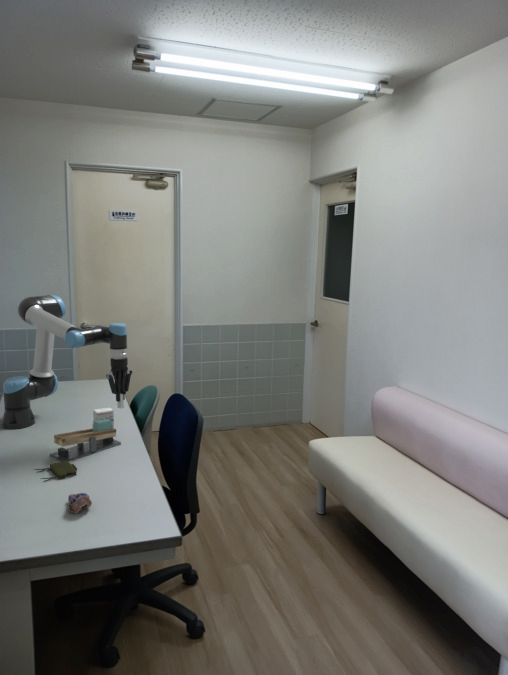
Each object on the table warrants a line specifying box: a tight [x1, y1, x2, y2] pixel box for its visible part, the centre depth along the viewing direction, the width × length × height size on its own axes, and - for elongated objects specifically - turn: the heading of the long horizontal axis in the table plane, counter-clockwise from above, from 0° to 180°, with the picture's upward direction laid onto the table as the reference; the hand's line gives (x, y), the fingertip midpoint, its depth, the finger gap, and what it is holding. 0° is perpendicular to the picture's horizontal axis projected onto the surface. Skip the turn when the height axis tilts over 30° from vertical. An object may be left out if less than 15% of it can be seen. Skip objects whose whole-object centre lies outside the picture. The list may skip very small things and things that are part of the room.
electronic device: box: [32, 461, 78, 483], centre depth 198 cm, size 14×3×15 cm
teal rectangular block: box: [92, 419, 112, 433], centre depth 226 cm, size 4×7×5 cm, turn 140°
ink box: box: [92, 406, 115, 429], centre depth 241 cm, size 9×5×12 cm, turn 123°
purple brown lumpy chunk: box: [67, 492, 93, 514], centre depth 172 cm, size 12×8×6 cm, turn 32°
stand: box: [49, 437, 122, 463], centre depth 221 cm, size 11×28×7 cm, turn 140°
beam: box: [53, 427, 117, 448], centre depth 220 cm, size 8×26×3 cm, turn 140°
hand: (120, 407), depth 232 cm, fingers closed
